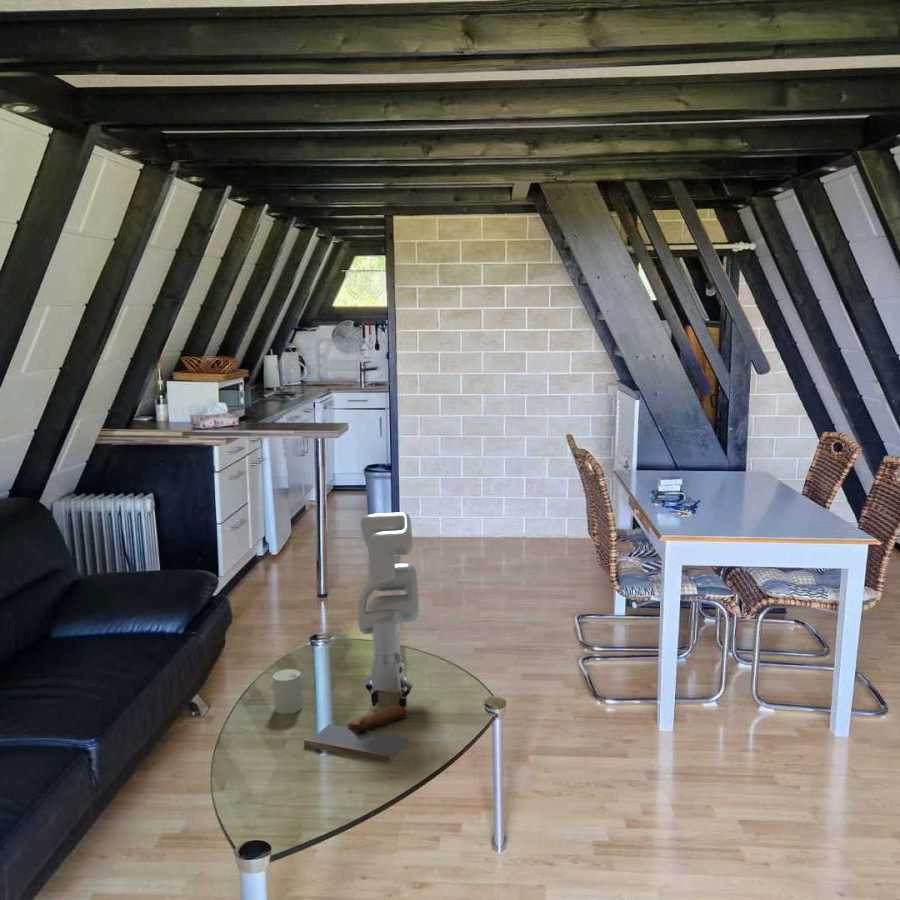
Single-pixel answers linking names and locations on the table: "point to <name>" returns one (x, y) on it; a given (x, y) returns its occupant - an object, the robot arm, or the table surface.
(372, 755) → the walnut rail
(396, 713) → the brown elongated rounded piece
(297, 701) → the can
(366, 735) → the mat
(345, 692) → the table surface
